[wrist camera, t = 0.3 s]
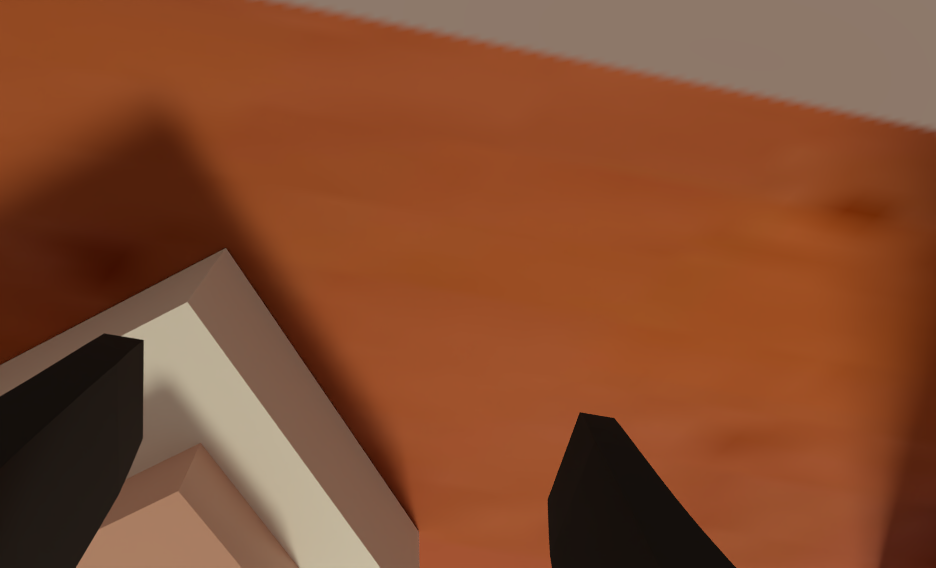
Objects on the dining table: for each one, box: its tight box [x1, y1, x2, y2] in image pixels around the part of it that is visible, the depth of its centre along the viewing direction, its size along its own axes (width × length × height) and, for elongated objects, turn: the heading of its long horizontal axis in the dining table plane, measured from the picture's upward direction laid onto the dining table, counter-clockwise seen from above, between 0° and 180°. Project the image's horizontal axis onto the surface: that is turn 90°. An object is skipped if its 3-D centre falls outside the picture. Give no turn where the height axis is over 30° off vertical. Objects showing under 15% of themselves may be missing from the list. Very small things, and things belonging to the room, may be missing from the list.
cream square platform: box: [0, 248, 419, 568], centre depth 22 cm, size 12×12×4 cm
